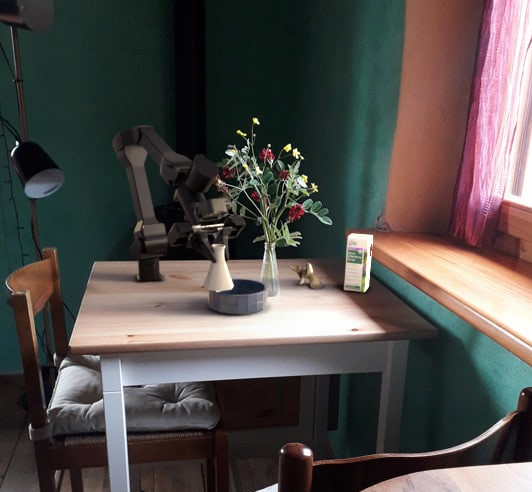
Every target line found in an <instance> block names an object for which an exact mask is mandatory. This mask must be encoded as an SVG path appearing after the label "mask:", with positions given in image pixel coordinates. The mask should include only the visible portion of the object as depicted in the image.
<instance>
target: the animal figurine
mask: <svg viewBox="0 0 532 492" xmlns="http://www.w3.org/2000/svg"><path fill="white" fill-rule="evenodd" d="M289 267H290V270H291V271H293V272H295V273H296V274H297V275H298V278H299V279H300V282H299V286H301V285H303V284H304V283H305V281H306V280H308V281H309V283H310V288H312V289H315V290H319V289H321V288H322V287H323V282H322V280H321V279H320V278H319V277H318V276H316V275H315V274H314V270H313V266H312V264H311V263H309V262H306V265H305V267H304V266H301V269H300V265H296V267H295V268H294V267H293V266H292V265H289ZM304 268H305V269H304Z"/></svg>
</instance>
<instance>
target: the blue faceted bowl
mask: <svg viewBox="0 0 532 492" xmlns="http://www.w3.org/2000/svg"><path fill="white" fill-rule="evenodd" d="M231 279H232V282H233V285H234V286H233V288H232V289H231V290H224V291H214V290H207V305H208V307H209V308H210V309H212V310H214V311H216V312H218V313H220V314H226V315H233V316H234V315H235V316H236V315H238V316H239V315H240V316H241V315H251V314H256V313H258V312H261V311H263V310H265V309H266V308H267V306H268V301H269V300H268V298H269V297H268V296H269V295H268V294H269V286H268V284H266V283H264V282H263V281H260V280H255V279H249V278H231Z"/></svg>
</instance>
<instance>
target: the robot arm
mask: <svg viewBox="0 0 532 492" xmlns="http://www.w3.org/2000/svg"><path fill="white" fill-rule="evenodd" d="M112 148H113V150H114V153H115V155H116V158H117V160H118V162H119V163H121V165H122V166H123V167H124V168H125V171H126V177H127V181H128V185H129V189H130V194H131V198H132V202H133V208H134V213H135V217H136V226H135V228H134V231H133V238H134V239H133V241H132V244H131V245H130V247H129V255H130V258H132V259H135V260H137V268H138V270H137V271H138V273H137V274H136V278H137V282H138V283H139V282H140V283H141V282H161V281H163V277H162V273H161V272H160V257H167V252H168V246H170V247H171V248H172V247H179V246H182V245H183V242H184V238H187V240H188V242H187V244H186V247H188V248H191V249H193V250H194V251H196V252H197V253H199V254H201V255H202V256H203V257H205V258H206V259H207V260H209V261H210V263H211V262H213V263H216V262H217V259H216V256H215V254H214V252H213V248H212V247H211V246H212V245H213V244H223V245H225V248H224V256H225V262H229V260H230V253H229V239H235V238H237V237H239V235H240V234H241V232H242V231H243V230H244V228H245V226H246V225H247V223H246V221H245V219H244V217H243V216H240V215H235V216H228V217H226V219H225V220H224V221H223V223H218V222H219V221H220V220H221V219H222V217H221V215H223V214H227V213H228V211H230V210H231V209H232V207H233V205H232V201H231V199H230V197H229V196H228V195H221V196H220V197H218V198H210V199H206V197H205V195H204V194H205V193H207V192H208V191H209V190H210V188H211V186H212V185H213V183H214V182H215V180H216V179H217V177H218V175H219V173H220V170H219V167H218V165H217V163H215V162H213V161H212V160H210V159H208V158H206V156H205V155H204V154H195V156H194V158H193V160H191V159H190V158H189V157H187V156H186V155H182V154H180V153H177V152H175V150H173V149H172V148H171V147H170V146H169V145H168V143H166V141H165V140H163V138H162V137H161V136H160V135H159V134H158V133H157V132H156V129H155V127H153V126H151V125H136V126H134V127H132V128H131V129H128V130H125V131H121V132H117V133H116V134H115V136H114V137H113V139H112ZM148 155H149V156H150V157H151V158H152V159H153V160H154V162H155V163H156V164H157V165H158V166H159V174H160V176H161V177H162V180H163V181H164V182H165V183H166V185H167V186H178V187H177V189H175V193H174V195H173V202H179V203H180V205H181V207H182V209H183V211H184V216H183V219H184V221H183V222H175V223H173V225H172V227H171V229H170V231H169V232H168V234H167V232H166V225H165V224H164V223H163V222H159V220H158V219H157V218H156V215H155V209H154V204H153V200H152V195H151V190H150V186H149V182H148V178H147V173H146V168H145V163H146V161H147V157H148ZM208 235H212V236H213V237H214V239H213V241H212V244H211V243H210V241H209V238H208Z"/></svg>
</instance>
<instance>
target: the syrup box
mask: <svg viewBox="0 0 532 492" xmlns="http://www.w3.org/2000/svg"><path fill="white" fill-rule="evenodd" d="M373 236H374V235H373V234H362V233H361V234H360V233H350V234H349V235H348V236H347V239H346V254H345V255H346V256H345V269H344V270H345V271H344V283H343V291H350V292H358V293H365V292H366V291H367V290H368V288H369V286H370V275H371V274H370V273H371V263H372V255H371V256H370V247H371V244H372V245H373V240H374V239H373V238H374V237H373Z"/></svg>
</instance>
